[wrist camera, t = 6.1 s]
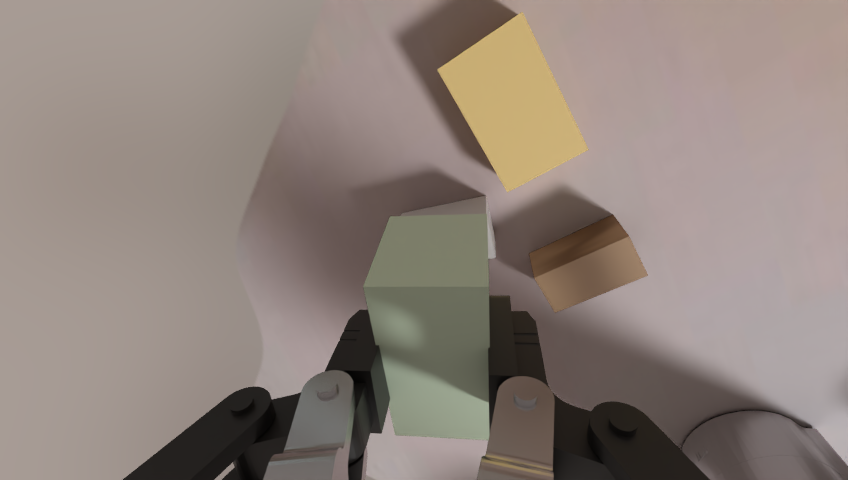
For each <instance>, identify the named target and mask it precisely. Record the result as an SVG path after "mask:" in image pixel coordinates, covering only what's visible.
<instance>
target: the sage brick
mask: <svg viewBox="0 0 848 480" xmlns="http://www.w3.org/2000/svg"><path fill="white" fill-rule="evenodd" d="M363 288H364V293H365V298H366V302H367V307H368V312H369V316H370V321H371V325H372V330H373V335H374V339H375V344H376V345H379V348H380V352H381V357H382V362H383V367H384V371H385V376H386V381H387V386H388V390H389V395H390V402H389V409H390V413H391V418H392V423H393V427H394V432H395V435H402V436H420V437H438V438H457V439H475V440H489V377H488V348H490V327H489V267H488V229H487V214H461V215H422V216H390V218H389V220H388V223H387V225H386V228H385V231H384V233H383V236H382V239H381V241H380V244H379V246H378V249H377V252H376V254H375V257H374V259H373V262H372V265H371V267H370V270H369V273H368V275H367V278H366V280H365V283H364V286H363Z"/></svg>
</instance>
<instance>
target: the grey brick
mask: <svg viewBox="0 0 848 480" xmlns="http://www.w3.org/2000/svg"><path fill="white" fill-rule="evenodd" d="M461 214H487V229H488V259H492V258H496V252H495V235H494V230H493V225H492V221H491V216H490V212H489V207H488V203H487V198H486V196H482V197H477V198H472V199H467V200H463V201H458V202H453V203H448V204H443V205H439V206H434V207H429V208H424V209H420V210H415V211H410V212H405V213H401V216H422V215H461Z"/></svg>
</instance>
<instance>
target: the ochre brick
mask: <svg viewBox="0 0 848 480" xmlns="http://www.w3.org/2000/svg"><path fill="white" fill-rule="evenodd" d="M437 70H438V72H439V74H440V76H441V77H442V79H443V81H444V82H445V84H446V86H447V88H448V89H449V91H450V93H451V95H452V96H453V98H454V100H455V102H456V103H457V105H458V107H459V109H460V110H461V112H462V114H463V116H464V117H465V119H466V121H467V123H468V124H469V126H470V128H471V130H472V131H473V133H474V135H475V137H476V138H477V140H478V142H479V144H480V145H481V147H482V149H483V151H484V152H485V154H486V156H487V158H488V159H489V161H490V163H491V165H492V166H493V168H494V170H495V172H496V173H497V175H498V177H499V179H500V180H501V182H502V184H503V186H504V187H505V189H506V191H507V192H509V191H511V190H513V189H515V188H517V187H519V186H520V185H522V184H524V183H526V182H528V181H530V180H532V179H534V178H536V177H538V176H540V175H541V174H543V173H545V172H547V171H549V170H551V169H553V168H555V167H557V166H559V165H560V164H562V163H564V162H566V161H568V160H570V159H572V158H574V157H576V156H578V155H579V154H581V153H583V152H585V151H587V150H589V149H588V147H587V145H586V143H585V141H584V139H583V137H582V135H581V133H580V131H579V129H578V126H577V124H576V122H575V120H574V118H573V116H572V114H571V112H570V110H569V108H568V106H567V104H566V102H565V99H564V97H563V95H562V93H561V91H560V89H559V87H558V85H557V83H556V81H555V79H554V77H553V75H552V73H551V70H550V68H549V66H548V64H547V62H546V60H545V58H544V56H543V54H542V52H541V50H540V48H539V46H538V43H537V41H536V39H535V37H534V35H533V33H532V31H531V29H530V27H529V25H528V23H527V21H526V19H525V16H524V14H523V12H521V13H520V14H518V15H517V16H515V17H514V18H512V19H511V20H510V21H508V22H507V23H505V24H504V25H502V26H501V27H499V28H498V29H496V30H495V31H493V32H492V33H490V34H489V35H487V36H486V37H484V38H483V39H482V40H480V41H479V42H477V43H476V44H474V45H473V46H471V47H470V48H468V49H467V50H465V51H464V52H462V53H461V54H459V55H458V56H457V57H455V58H454V59H452V60H451V61H449V62H448V63H446V64H445V65H443V66H442V67H440V68H439V69H437Z"/></svg>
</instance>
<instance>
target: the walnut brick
mask: <svg viewBox="0 0 848 480" xmlns="http://www.w3.org/2000/svg"><path fill="white" fill-rule="evenodd" d="M529 256H530V261H531V265H532V270H533V275H534V279H535V280H536V282H537V284H538V285H539V287H540V289H541V290H542V292H543V294H544V295H545V297H546V299H547V300H548V302H549V304H550V305H551V307H552V309H553V310H554V312H555V313H556V312H558V311H561V310H563V309H566V308H568V307H571V306H573V305H576V304H578V303H581V302H583V301H586V300H588V299H591V298H593V297H596V296H598V295H601V294H603V293H606V292H608V291H611V290H613V289H615V288H618V287H620V286H623V285H625V284H628V283H630V282H633V281H635V280H638V279H640V278H643V277H645V276H648V274H647V272H646V270H645V268H644V266H643V264H642V262H641V260H640V258H639V256H638V254H637V252H636V250H635V248H634V245H633V243H632V241H631V239H630V237H629V236H628V234H627V233H626V232H625V230H624V229H623V227H622V226H621V225H620V223H619V222H618V221H617V219H616V218H615V217H614V215H611V216H609V217H607V218H604V219H602V220H600V221H598V222H596V223H594V224H592V225H589V226H587V227H585V228H583V229H581V230H579V231H576V232H574V233H572V234H570V235H568V236H566V237H564V238H561V239H559V240H557V241H555V242H553V243H551V244H548V245H546V246H544V247H542V248H540V249H538V250H536V251H533V252H531V253H529Z"/></svg>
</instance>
